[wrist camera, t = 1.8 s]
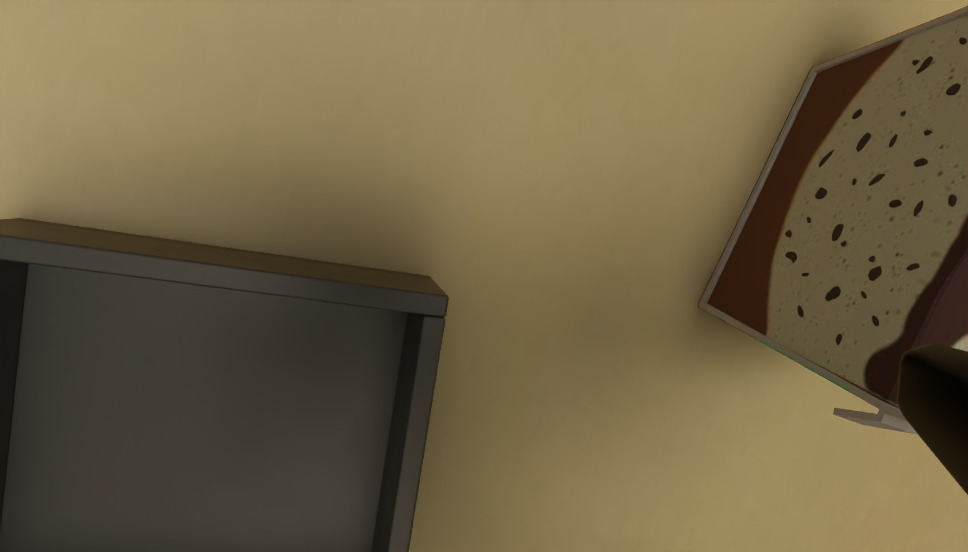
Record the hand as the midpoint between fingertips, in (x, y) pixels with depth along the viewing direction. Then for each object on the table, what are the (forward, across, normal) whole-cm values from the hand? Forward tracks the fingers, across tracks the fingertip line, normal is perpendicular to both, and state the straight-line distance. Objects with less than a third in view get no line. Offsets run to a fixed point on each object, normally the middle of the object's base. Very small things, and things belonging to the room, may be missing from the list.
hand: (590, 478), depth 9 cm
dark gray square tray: (+12, +9, +6) cm, 16 cm away
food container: (+14, -13, +6) cm, 20 cm away
